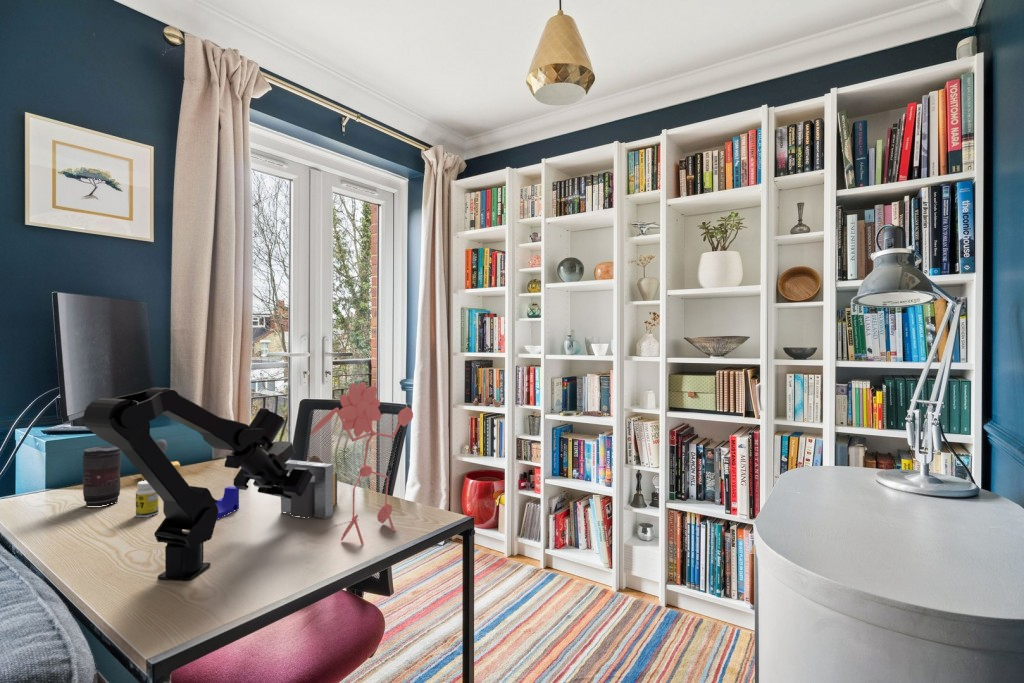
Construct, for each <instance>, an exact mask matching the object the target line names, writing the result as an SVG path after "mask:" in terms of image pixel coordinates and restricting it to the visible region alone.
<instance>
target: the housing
mask: <svg viewBox="0 0 1024 683" xmlns="http://www.w3.org/2000/svg"><path fill="white" fill-rule="evenodd" d="M285 464H286V465H287V467H286V468H285V470H289V471H290V472H291V471H292V469H294V468H307V469H309V470H310V471H311V472H312V473H313V476H315V515H314V518H315V517H318V518H317V519H321V518H327V519H328V518H330V517H332V516H334V506H333V472H334V463H326V462H325V463H324V462H323V463H316V462H308V461H303V460H294V459H289V460H288V461H287V462H286V463H285ZM281 512H286V513H291V499H287V498H283V497H280V513H281ZM331 515H332V516H331ZM329 516H330V517H329Z"/></svg>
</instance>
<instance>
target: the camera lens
mask: <svg viewBox="0 0 1024 683" xmlns="http://www.w3.org/2000/svg"><path fill="white" fill-rule="evenodd" d="M121 465H122V451H121V450H120V449H119V448H118V447H116V446H114V445H107V446H106V445H103V446H96V447H89V448H85V449H84V450H83V454H82V471H83V476H82V477H81V479H82V480H81V482H82V483H83V485H82V486H83V487H82V493H83V494H82V495H83V501H84V502H85V506H86V505H87V506H102V505H107V504H111V503H115V502H117V503H118V502H119V496H120V494H121ZM115 504H116V503H115ZM87 506H86V507H87Z"/></svg>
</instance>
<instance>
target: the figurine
mask: <svg viewBox="0 0 1024 683" xmlns="http://www.w3.org/2000/svg"><path fill="white" fill-rule="evenodd" d="M377 392H378V387H376V386H372V385H371V386H369V387H367V385H366V382H364V381H362V382H360V383H359V384H358V385H356V383H350V385H349V387H348V393H347V394H348V395H346V394H341V396H339V401H340V405H341V407H342V408H340V409H339V407H335V408H334V409H332V410H330V411H329V412H328V413H327V414H326V415H325V416H323V418H321V419H320V420H319V422H318V423H317V424H316V425H315V426H314V428H313V430H312V431H311V432H310V436H312V435H313V434H315V433H316V432H318V431H319V430H320V429H322V428H323V427H324V426H325V425H326V424H328V422H329V421H330V420H331V419H332V418H333V417H334V415H335V414H337V416H338V418H339V420H340V421H341V422H342V425H341V428H342V430H343V431H346V433H347V435H348V436H349V438H350V440H351V442H352V443H353V442H355V441H358V440H361V439H364V438H366V437H368V439H367V440H366V442H365V452H364V459H363V460H364V461H363V464H362V466H361V467H360V468H359V475H358V478H357V479H356V482H355V484H354V486H353V488H352V517H351V520H350V521H348V523H349V524H348V525H347V527H346V529H345V530H344V532H343V533H342V536H341V539H340V541H341V542H343V540H344V538H345V537H346V536H347V535H348V533H349V532H350V530H351V529H352V528H353V526H354V525H355V528H356V532H357V535H358V538H359V542H360V545H364V543H365V542H364V540H363V537H362V534H361V529H360V528H359V525H358V524H359V523H358V518H359V514H358V513H356V514H355V495H356V493H355V489H356V488H357V485H358V483H359V481H360V479H361V476H362V477H364V478H365V477H366V478H367V477H369V476H371V475H372V474H374V475H377V476H380V477H383V478H386V486H385V487H386V490H385V501H384V505H383V506H382V507H381V508H380V510H379V511H378V513H377V516H376V517H377V521H378V523H381V524H384V523H385V522H386V521H387V519H388V522H389V525H390V528H391V530H392V532H395V531H396V530H395V526H394V524H393V521H392V518H391V514H392V512H393V507H392V504H391V503H388V492H389V490H388V489H389V481H390V480H389V476H387V475H384V474H381V473H378V472H376V471H373V469H372V467H371V466H370V465H369V464H367V458H368V451H369V446H370V445H369V444H370V441H371V440H372V437H374V436H378V437H379V436H380V437H385V438H391V439H392V438H393V439H394V438H395V436H396V435H397V433H398V430H399V429H400V427H401V426H402V427H406V426H407V425H408V424H410V423H411V422H412V420H413V418H414V412H413V410H412V409H411V408H409V406H405V407H404V408H403V409H401V410H400V411H399V413H398V414H397V417H396V418H397V421H398V424H397V426H396V428H395V430H394V432H393V433H392V435H391V434H386V433H380V432H375V431H374V429H373V421H375V422H379V421H380V420H382V414H381V410H380V409H379V408H380V405H381V402H380V400H379V399H378V398H377V397H376V396H377V394H378V393H377ZM352 429H353V434H354V436H355V438H354V437H353V435H352V434H351V432H350V430H352ZM363 433H366V434H363ZM362 434H363V435H362ZM346 522H347V521H346ZM346 522H344V524H346ZM410 522H411V523H412V524H415V522H414V521H410ZM340 524H341V523H339V524H335V527H337V525H338V526H340Z"/></svg>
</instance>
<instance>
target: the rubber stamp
mask: <svg viewBox="0 0 1024 683" xmlns="http://www.w3.org/2000/svg"><path fill="white" fill-rule="evenodd" d="M155 442H156V443H157V445H158V446H159V447H160V449H161V450H162V451H163V452H164V454H165V455H166V451H167V448H168V443H167V441H166V439H164V438H163V439H160V438H159V439H158V440H155ZM170 462H171V463H172V464H173V465H174V467H175V468H176V469H177V471H178V472H179V473H180V474H181V464H180V461H177V460H176V461H170ZM142 479H143V480H144V481H145V478H144V477H143V476H142V475H141V480H142ZM143 480H142V481H143Z"/></svg>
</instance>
